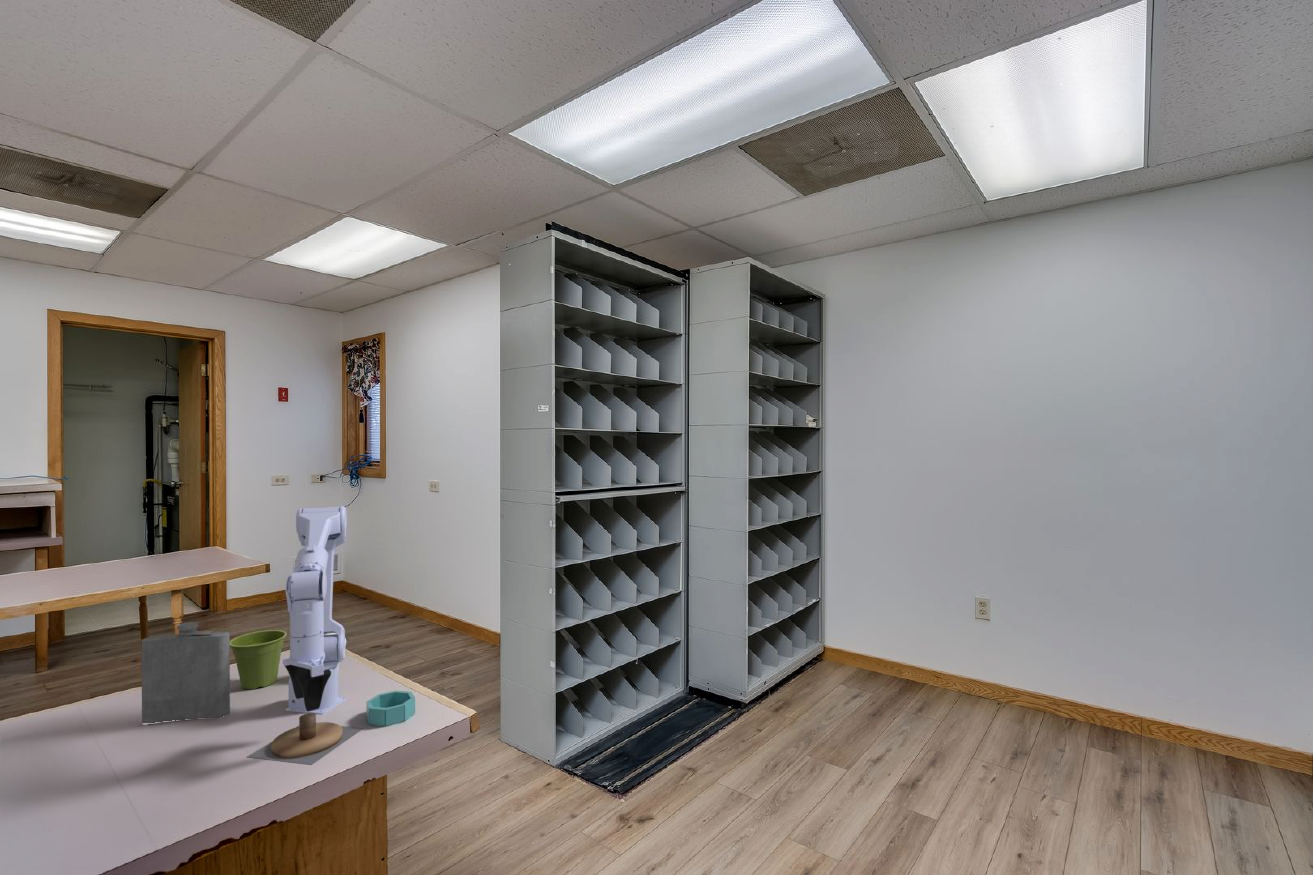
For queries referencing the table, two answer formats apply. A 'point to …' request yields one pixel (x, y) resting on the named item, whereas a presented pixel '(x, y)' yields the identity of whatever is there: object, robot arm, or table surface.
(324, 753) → the mat
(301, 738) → the lid
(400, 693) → the bowl
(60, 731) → the table surface
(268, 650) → the plant pot
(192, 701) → the hip flask
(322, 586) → the robot arm
